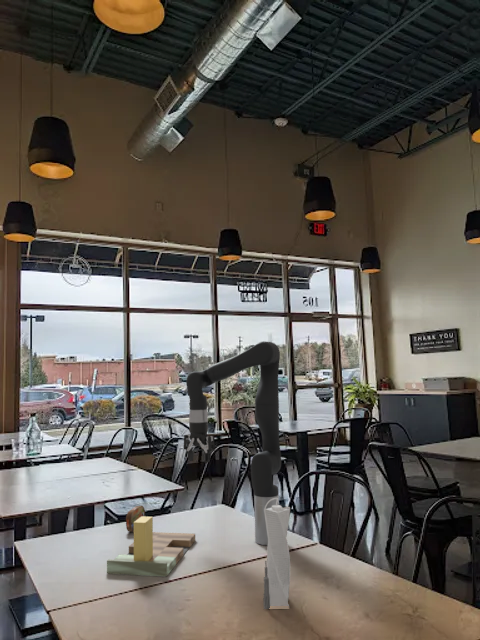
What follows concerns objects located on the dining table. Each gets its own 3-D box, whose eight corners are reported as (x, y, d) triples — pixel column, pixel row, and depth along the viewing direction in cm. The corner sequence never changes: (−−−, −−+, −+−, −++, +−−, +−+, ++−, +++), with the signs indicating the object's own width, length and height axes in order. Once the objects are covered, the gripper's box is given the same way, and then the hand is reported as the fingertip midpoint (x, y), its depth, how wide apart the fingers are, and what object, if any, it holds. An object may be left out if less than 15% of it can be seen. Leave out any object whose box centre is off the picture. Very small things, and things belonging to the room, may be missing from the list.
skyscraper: (263, 597, 149) (261, 496, 152) (291, 597, 149) (288, 496, 152) (263, 610, 141) (261, 504, 144) (293, 610, 141) (290, 504, 143)
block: (141, 555, 177) (141, 516, 178) (152, 556, 176) (152, 516, 177) (133, 563, 170) (133, 522, 171) (145, 564, 169) (145, 522, 170)
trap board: (145, 538, 203) (145, 527, 203) (195, 540, 199) (195, 529, 200) (106, 573, 168) (106, 560, 169) (166, 576, 165) (166, 563, 165)
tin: (131, 534, 208) (131, 513, 209) (124, 534, 209) (124, 512, 210) (146, 523, 223) (145, 503, 224) (139, 523, 223) (139, 503, 224)
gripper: (218, 420, 211) (218, 461, 209) (191, 419, 219) (191, 458, 217) (206, 422, 205) (206, 464, 203) (179, 420, 213) (179, 461, 211)
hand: (199, 461), depth 210 cm, fingers open, 8 cm apart
